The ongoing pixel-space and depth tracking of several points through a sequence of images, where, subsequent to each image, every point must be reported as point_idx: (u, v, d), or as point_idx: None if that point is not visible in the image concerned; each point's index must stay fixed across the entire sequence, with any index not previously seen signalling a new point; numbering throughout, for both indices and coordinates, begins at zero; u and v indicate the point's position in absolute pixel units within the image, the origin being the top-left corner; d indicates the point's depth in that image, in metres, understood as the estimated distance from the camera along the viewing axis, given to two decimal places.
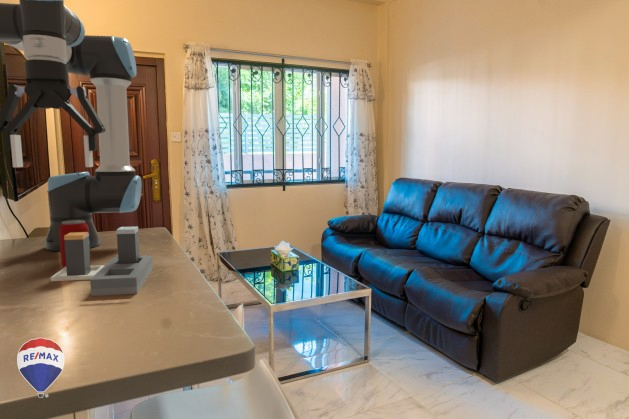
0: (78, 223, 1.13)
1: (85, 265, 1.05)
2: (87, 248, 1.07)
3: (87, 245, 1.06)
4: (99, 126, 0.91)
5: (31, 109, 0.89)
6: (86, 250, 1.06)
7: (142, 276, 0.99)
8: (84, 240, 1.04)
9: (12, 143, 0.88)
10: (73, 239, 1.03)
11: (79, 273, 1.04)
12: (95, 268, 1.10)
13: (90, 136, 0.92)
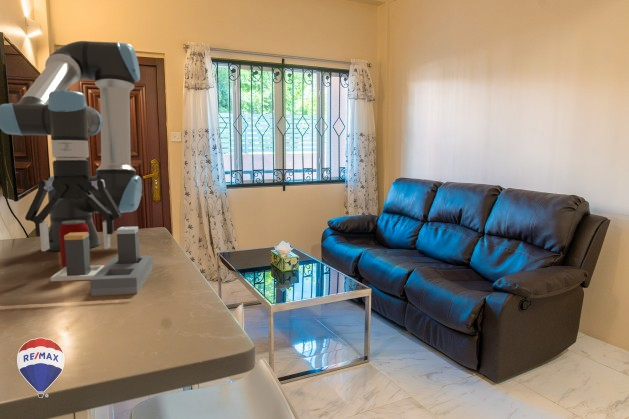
0: (78, 223, 1.13)
1: (85, 265, 1.05)
2: (87, 248, 1.07)
3: (87, 245, 1.06)
4: (116, 213, 1.05)
5: (57, 200, 1.02)
6: (86, 250, 1.06)
7: (142, 276, 0.99)
8: (84, 240, 1.04)
9: (41, 230, 1.02)
10: (73, 239, 1.03)
11: (79, 273, 1.04)
12: (95, 268, 1.10)
13: (108, 222, 1.05)
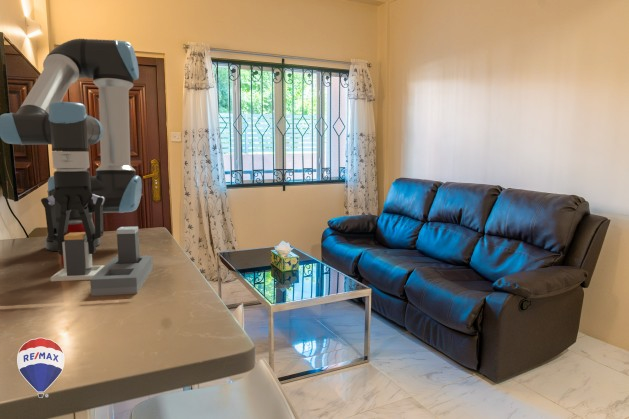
0: (78, 223, 1.13)
1: (85, 265, 1.05)
2: None
3: None
4: (99, 233, 1.05)
5: (67, 213, 1.03)
6: None
7: (142, 276, 0.99)
8: (84, 240, 1.04)
9: (64, 249, 1.03)
10: (73, 239, 1.03)
11: (79, 273, 1.04)
12: (95, 268, 1.10)
13: None
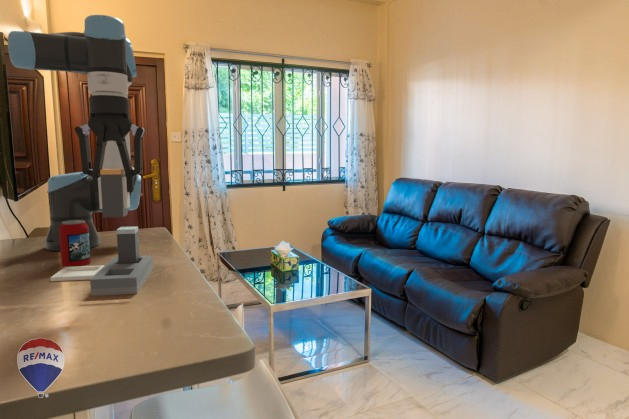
0: (78, 223, 1.13)
1: (123, 205, 0.93)
2: None
3: None
4: (138, 169, 0.93)
5: (103, 145, 0.91)
6: None
7: (142, 276, 0.99)
8: (122, 176, 0.93)
9: (100, 185, 0.92)
10: (110, 174, 0.91)
11: (116, 213, 0.92)
12: (95, 268, 1.10)
13: (126, 177, 0.93)
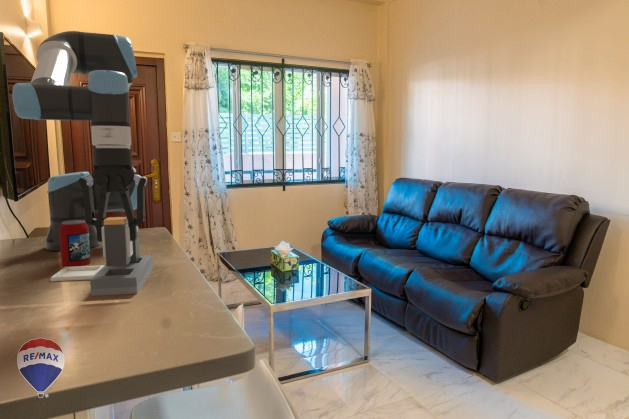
0: (78, 223, 1.13)
1: (126, 253, 0.95)
2: None
3: None
4: (141, 218, 0.94)
5: (106, 195, 0.93)
6: None
7: (142, 276, 0.99)
8: (125, 225, 0.94)
9: (103, 235, 0.93)
10: (113, 224, 0.93)
11: (119, 262, 0.94)
12: (95, 268, 1.10)
13: (129, 226, 0.95)
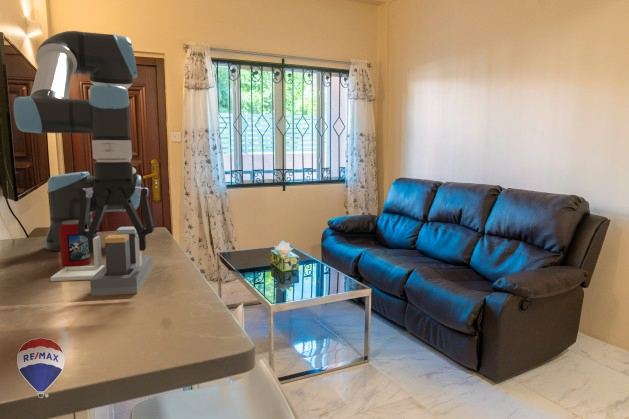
0: None
1: (127, 271, 0.95)
2: (128, 252, 0.97)
3: (128, 249, 0.97)
4: (150, 228, 0.95)
5: (103, 208, 0.93)
6: (128, 254, 0.96)
7: (142, 276, 0.99)
8: (126, 243, 0.95)
9: (95, 246, 0.93)
10: (114, 242, 0.93)
11: None
12: None
13: (139, 237, 0.95)
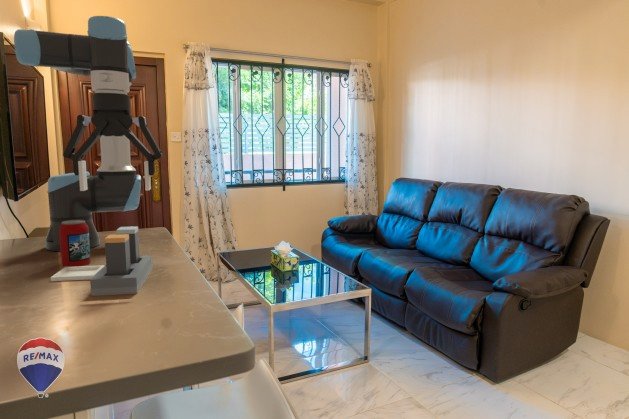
0: (78, 223, 1.13)
1: (127, 271, 0.95)
2: (128, 252, 0.97)
3: (128, 249, 0.97)
4: (158, 153, 0.98)
5: (97, 137, 0.96)
6: (128, 254, 0.96)
7: (142, 276, 0.99)
8: (126, 243, 0.95)
9: (80, 168, 0.96)
10: (114, 242, 0.93)
11: None
12: (95, 268, 1.10)
13: (150, 162, 0.99)
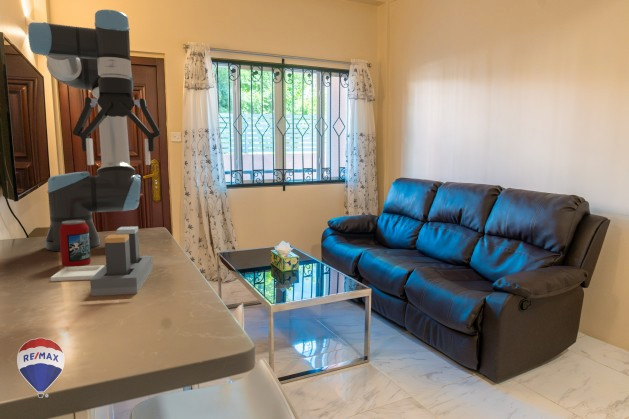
0: (78, 223, 1.13)
1: (127, 271, 0.95)
2: (128, 252, 0.97)
3: (128, 249, 0.97)
4: (157, 131, 1.11)
5: (102, 117, 1.08)
6: (128, 254, 0.96)
7: (142, 276, 0.99)
8: (126, 243, 0.95)
9: (87, 145, 1.08)
10: (114, 242, 0.93)
11: None
12: (95, 268, 1.10)
13: (149, 139, 1.11)
